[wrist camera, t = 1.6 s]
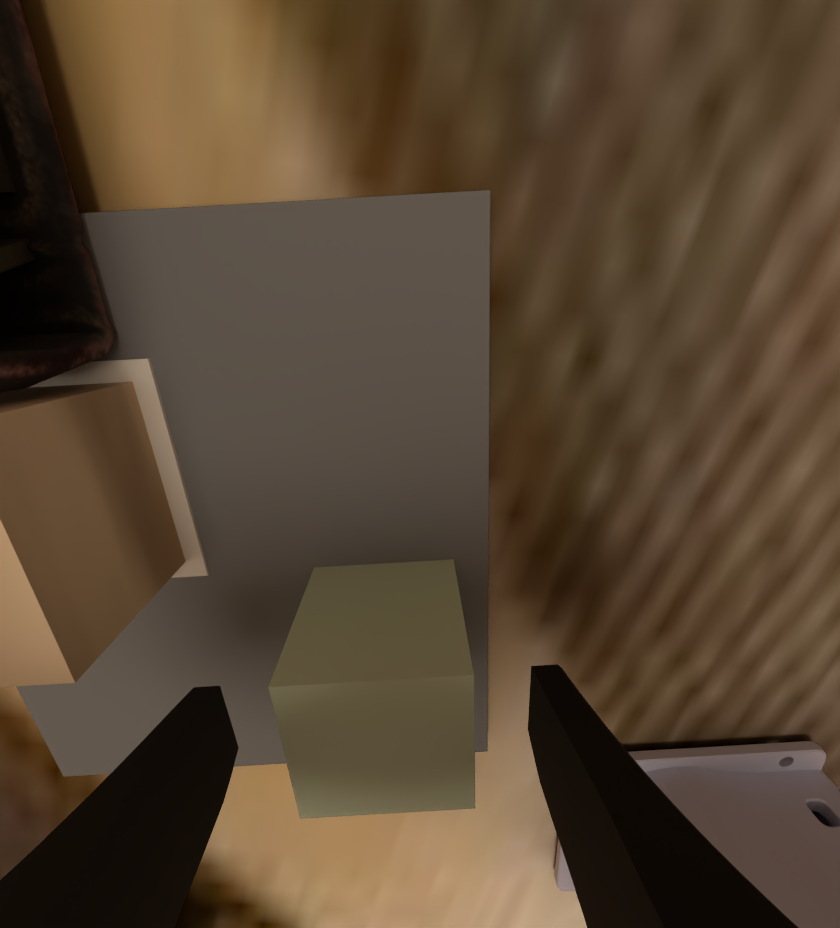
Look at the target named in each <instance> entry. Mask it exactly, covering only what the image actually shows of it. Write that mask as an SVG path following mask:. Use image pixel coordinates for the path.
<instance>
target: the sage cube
mask: <svg viewBox="0 0 840 928" xmlns="http://www.w3.org/2000/svg"><path fill="white" fill-rule="evenodd" d="M268 688H269V692H270V696H271V700H272V704H273V709H274V713H275V717H276V721H277V725H278V729H279V733H280V737H281V742H282V746H283V750H284V754H285V758H286V762H287V766H288V770H289V775H290V779H291V783H292V787H293V791H294V795H295V799H296V803H297V807H298V812H299V816H300V819H303V818H320V817H337V816H353V815H370V814H387V813H404V812H421V811H437V810H454V809H471V808H475V729H474V673H473V667H472V661H471V656H470V650H469V644H468V639H467V633H466V627H465V622H464V616H463V610H462V604H461V599H460V593H459V587H458V582H457V576H456V570H455V565H454V559H450V560H433V561H416V562H399V563H382V564H365V565H348V566H330V567H314V569H313V571H312V574H311V577H310V579H309V582H308V585H307V587H306V590H305V592H304V595H303V598H302V600H301V603H300V606H299V608H298V611H297V613H296V616H295V619H294V621H293V624H292V627H291V629H290V632H289V634H288V637H287V640H286V642H285V645H284V648H283V650H282V653H281V655H280V658H279V661H278V663H277V666H276V669H275V671H274V674H273V676H272V679H271V682H270V684H269V687H268Z"/></svg>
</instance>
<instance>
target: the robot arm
mask: <svg viewBox="0 0 840 928" xmlns="http://www.w3.org/2000/svg"><path fill="white" fill-rule="evenodd" d="M528 731H529V736H530V740H531V745H532V749H533V754H534V758H535V762H536V767H537V771H538V775H539V779H540V783H541V786H542V789H543V792H544V796H545V799H546V802H547V805H548V808H549V811H550V814H551V817H552V820H553V823H554V826H555V829H556V832H557V835H558V845H557V854H556V864H555V874H554V876H555V880H556V884H557V887H558V888H559V889H560V890H563V891H576V893H577V896H578V899H579V902H580V906H581V909H582V912H583V915H584V918H585V921H586V925H587V928H840V790H839V789H838V788H837V787H836V786H835V785H834V783H833V782H832V781H831V780H830V779H829V778H828V777H827V776H826V775H825V773H824V772H823V771H822V767H823V765H824V763H825V760H826V753H825V752H824V751H823V750H822V748H821V747H820V746H819V745H818V744H817V743H815V742H812V741H799V742H782V743H766V744H749V745H732V746H715V747H698V748H681V749H665V750H648V751H631V752H627V750H626V749H625V748H624V747H623V746H622V745H621V743H620V742H619V741H618V740H617V739H616V737H615V736H614V735H613V734H612V733H611V731H610V730H609V729H608V728H607V726H606V725H605V724H604V723H603V722H602V720H601V719H600V718H599V716H598V715H597V714H596V713H595V711H594V710H593V709H592V708H591V706H590V705H589V704H588V702H587V701H586V700H585V699H584V697H583V696H582V695H581V693H580V692H579V691H578V689H577V688H576V687H575V685H574V684H573V683H572V681H571V680H570V679H569V677H568V676H567V674H566V673H565V672H564V670H563V669H562V668H561V667H560V666H559V665H543V666H531V683H530V702H529V720H528ZM238 748H239V747H238V744H237V740H236V737H235V734H234V730H233V727H232V724H231V720H230V717H229V714H228V710H227V707H226V704H225V700H224V697H223V694H222V690H221V687H220V686H207V687H194V688H193V689H192V690H191V691H190V692H189V693H188V694H187V695H186V696H185V697H184V698H183V699H182V700H181V701H180V702H179V703H178V704H177V705H176V706H175V707H174V708H173V709H172V710H171V711H170V712H169V713H168V715H167V716H166V717H165V718H164V719H163V720H162V721H161V722H160V723H159V724H158V725H157V726H156V727H155V728H154V729H153V730H152V731H151V732H150V733H149V735H148V736H147V737H146V738H145V739H144V740H143V741H142V742H141V743H140V744H139V745H138V746H137V747H136V748H135V749H134V750H133V751H132V752H131V753H130V754H129V755H128V756H127V757H126V759H125V760H124V761H123V762H122V763H121V764H120V765H119V766H118V767H117V768H116V769H115V770H114V771H113V772H112V773H111V774H110V775H109V776H108V777H107V778H106V779H105V780H104V781H103V782H102V783H101V784H100V785H99V786H98V787H97V788H96V789H95V790H94V791H93V792H92V793H91V794H90V795H89V796H88V797H87V798H86V799H85V800H84V801H83V802H82V803H81V804H80V805H79V806H78V807H77V808H76V809H75V810H74V811H73V812H72V813H71V814H70V815H69V816H68V817H67V818H66V819H65V820H64V821H63V822H62V823H61V824H60V825H58V826H57V827H56V828H55V829H54V830H53V831H52V832H51V833H50V834H49V835H48V836H47V837H46V838H45V839H44V840H43V841H42V842H41V843H40V844H39V845H38V846H37V847H36V848H35V849H34V850H33V851H32V852H31V853H29V854H28V855H27V856H26V857H25V858H24V859H23V860H22V861H21V862H20V863H19V864H18V865H17V866H15V867H14V868H13V869H12V870H11V871H10V872H9V873H8V874H7V875H6V876H4V877H3V878H2V879H1V880H0V928H174V927H175V925H176V922H177V919H178V917H179V914H180V912H181V909H182V907H183V904H184V902H185V899H186V897H187V894H188V892H189V889H190V886H191V884H192V881H193V879H194V876H195V874H196V871H197V869H198V866H199V864H200V861H201V859H202V856H203V853H204V851H205V848H206V846H207V843H208V841H209V838H210V835H211V833H212V830H213V828H214V825H215V823H216V820H217V817H218V815H219V812H220V809H221V807H222V804H223V802H224V798H225V795H226V791H227V788H228V785H229V781H230V778H231V774H232V770H233V767H234V763H235V759H236V756H237V752H238Z"/></svg>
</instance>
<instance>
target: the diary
mask: <svg viewBox="0 0 840 928" xmlns="http://www.w3.org/2000/svg"><path fill="white" fill-rule="evenodd" d="M83 233H84V230H83V226H82V223H81V219H80V215H79V212H78V208H77V204H76V201H75V197H74V193H73V190H72V186H71V182H70V179H69V175H68V172H67V168H66V164H65V161H64V157H63V153H62V150H61V146H60V142H59V139H58V135H57V131H56V128H55V124H54V121H53V117H52V113H51V110H50V106H49V102H48V99H47V95H46V91H45V88H44V84H43V80H42V77H41V73H40V69H39V66H38V62H37V59H36V55H35V51H34V48H33V44H32V40H31V37H30V33H29V29H28V26H27V22H26V18H25V15H24V11H23V7H22V4H21V0H0V392H7V391H13V390H19V389H25V388H28V387H30V386H33V385H35V384H38V383H40V382H43V381H45V380H48V379H50V378H52V377H55V376H57V375H60V374H62V373H65V372H67V371H70V370H72V369H74V368H77V367H79V366H82V365H84V364H87V363H89V362H92V361H94V360H96V359H99V358H101V357H104V356H106V355H108V353H109V350H110V348H111V346H112V344H113V342H114V337H115V331H114V329H113V327H112V325H111V324H110V322H109V320H108V317H107V314H106V310H105V306H104V303H103V299H102V295H101V292H100V288H99V285H98V281H97V277H96V274H95V270H94V266H93V263H92V259H91V255H90V252H89V250H88V249H87V248H86V247H85V246H84V244H83V243H82V242H81V240H82V237H83Z"/></svg>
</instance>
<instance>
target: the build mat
mask: <svg viewBox="0 0 840 928" xmlns="http://www.w3.org/2000/svg"><path fill="white" fill-rule="evenodd" d="M79 215H80V219H81V223H82V226H83V230H84V233H83V237H82V240H81V242H82V243H83V244H84V246H85V247H86V248H87V249H88V250H89V252H90V255H91V259H92V263H93V266H94V270H95V274H96V277H97V281H98V285H99V288H100V292H101V295H102V299H103V303H104V306H105V310H106V314H107V317H108V320H109V322H110V324H111V325H112V327H113V329H114V331H115V337H114V342H113V344H112V346H111V348H110V350H109V353H108V355H106V356H104V357H101V358H99V359H96V360H94V361H92V362H89V363H87V364H84V365H82V366H79V367H77V368H74V369H72V370H70V371H67V372H65V373H62V374H60V375H57V376H55V377H52V378H50V379H48V380H45V381H43V382H40V383H38V384H35V385H33V386H30V387H45V386H63V385H80V384H98V383H115V382H132V381H133V385H134V388H135V391H136V395H137V398H138V402H139V405H140V408H141V412H142V415H143V419H144V422H145V425H146V429H147V432H148V436H149V439H150V442H151V446H152V449H153V453H154V456H155V459H156V463H157V466H158V470H159V473H160V476H161V480H162V483H163V487H164V490H165V493H166V497H167V500H168V504H169V507H170V510H171V514H172V517H173V521H174V524H175V527H176V531H177V534H178V538H179V541H180V544H181V548H182V551H183V555H184V558H185V561H186V562H185V563H184V564H183V565H182V566H181V567H180V568H179V569H178V571H177V572H176V573H175V574H174V575H173V576H172V577H171V578H170V579H169V580H168V582H167V583H166V584H165V585H164V586H163V587H162V588H161V589H160V590H159V591H158V593H157V594H156V595H155V596H154V597H153V598H152V599H151V600H150V601H149V602H148V603H147V605H146V606H145V607H144V608H143V609H142V610H141V611H140V612H139V613H138V614H137V616H136V617H135V618H134V619H133V620H132V621H131V622H130V623H129V624H128V625H127V627H126V628H125V629H124V630H123V631H122V632H121V633H120V634H119V635H118V636H117V638H116V639H115V640H114V641H113V642H112V643H111V644H110V645H109V646H108V647H107V649H106V650H105V651H104V652H103V653H102V654H101V655H100V656H99V657H98V658H97V660H96V661H95V662H94V663H93V664H92V665H91V666H90V667H89V668H88V669H87V671H86V672H85V673H84V674H83V675H82V676H81V677H80V678H79V679H78V680H77V682H76V683H65V684H48V685H31V686H16V687H17V689H18V691H19V693H20V694H21V696H22V698H23V700H24V702H25V704H26V706H27V708H28V710H29V712H30V714H31V715H32V717H33V719H34V721H35V723H36V725H37V727H38V729H39V731H40V733H41V734H42V736H43V738H44V740H45V742H46V744H47V746H48V748H49V750H50V752H51V753H52V755H53V757H54V759H55V761H56V763H57V765H58V767H59V769H60V771H61V772H62V774H63V776H80V775H97V774H111V773H112V772H113V771H114V770H115V769H116V768H117V767H118V766H119V765H120V764H121V763H122V762H123V761H124V760H125V759H126V757H127V756H128V755H129V754H130V753H131V752H132V751H133V750H134V749H135V748H136V747H137V746H138V745H139V744H140V743H141V742H142V741H143V740H144V739H145V738H146V737H147V736H148V735H149V733H150V732H151V731H152V730H153V729H154V728H155V727H156V726H157V725H158V724H159V723H160V722H161V721H162V720H163V719H164V718H165V717H166V716H167V715H168V713H169V712H170V711H171V710H172V709H173V708H174V707H175V706H176V705H177V704H178V703H179V702H180V701H181V700H182V699H183V698H184V697H185V696H186V695H187V694H188V693H189V692H190V691H191V690H192V689H193V688H194V687H207V686H220V687H221V690H222V694H223V697H224V700H225V704H226V707H227V710H228V714H229V717H230V720H231V724H232V727H233V730H234V734H235V737H236V740H237V744H238V747H239V748H238V752H237V756H236V759H235V763H234V766H248V765H265V764H282V763H287V762H286V758H285V754H284V750H283V746H282V742H281V737H280V733H279V729H278V725H277V721H276V717H275V713H274V709H273V704H272V700H271V696H270V692H269V688H268V687H269V684H270V682H271V679H272V676H273V674H274V671H275V669H276V666H277V663H278V661H279V658H280V655H281V653H282V650H283V648H284V645H285V642H286V640H287V637H288V634H289V632H290V629H291V627H292V624H293V621H294V619H295V616H296V613H297V611H298V608H299V606H300V603H301V600H302V598H303V595H304V592H305V590H306V587H307V585H308V582H309V579H310V577H311V574H312V571H313V569H314V567H330V566H348V565H365V564H382V563H399V562H416V561H433V560H450V559H454V565H455V570H456V576H457V582H458V587H459V593H460V599H461V604H462V610H463V616H464V622H465V627H466V633H467V639H468V644H469V650H470V656H471V661H472V667H473V673H474V729H475V752H484V751H487V746H488V541H489V336H490V190H483V191H466V192H448V193H430V194H412V195H395V196H377V197H359V198H342V199H324V200H306V201H289V202H271V203H253V204H236V205H218V206H200V207H183V208H165V209H147V210H130V211H112V212H94V213H79Z"/></svg>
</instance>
